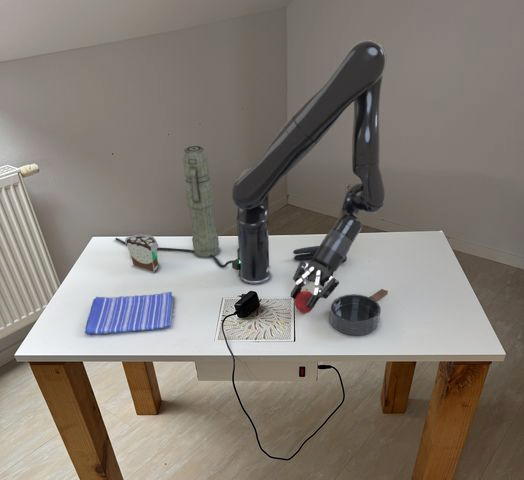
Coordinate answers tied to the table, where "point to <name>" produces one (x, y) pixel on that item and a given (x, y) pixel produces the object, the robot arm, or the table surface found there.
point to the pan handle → (379, 295)
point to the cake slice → (143, 251)
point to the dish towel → (130, 313)
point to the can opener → (310, 251)
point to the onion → (303, 301)
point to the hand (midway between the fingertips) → (300, 302)
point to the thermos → (200, 202)
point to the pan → (355, 314)
